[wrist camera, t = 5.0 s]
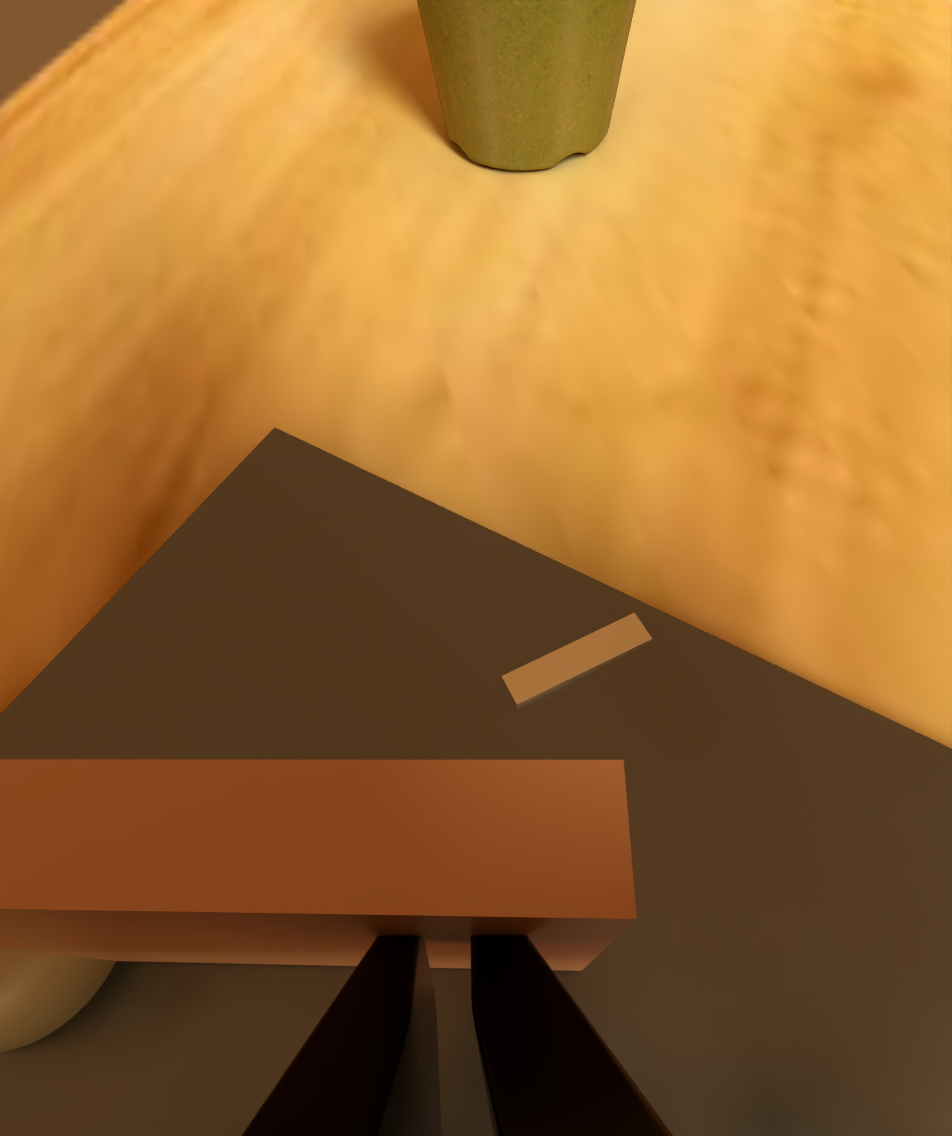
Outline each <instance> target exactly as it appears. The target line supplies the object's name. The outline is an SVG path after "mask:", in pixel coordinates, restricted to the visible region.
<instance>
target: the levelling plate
mask: <svg viewBox="0 0 952 1136" xmlns="http://www.w3.org/2000/svg"><path fill="white" fill-rule="evenodd" d="M0 759H174V760H624V771H625V783H626V795H627V807H628V819H629V832H630V844H631V856H632V868H633V880H634V892H635V905H636V917H637V919H636V920H635V921H634V922H633V923H632V924H631V925H630V926H629V927H628V928H627V929H626V930H624V931H623V932H622V933H621V934H620V935H619V936H618V937H617V938H616V939H615V940H614V941H613V942H612V943H611V944H610V945H609V946H607V947H606V948H605V949H604V950H603V951H602V952H601V953H600V954H599V955H598V956H597V957H596V958H595V959H594V960H593V961H592V962H590V963H589V964H588V965H587V966H586V967H585V968H584V969H583V970H582V971H565V970H553V972H554V973H555V974H556V976H557V977H558V979H559V980H560V981H561V983H562V984H563V985H564V987H565V988H566V989H567V991H568V992H569V994H570V995H571V996H572V998H573V999H574V1000H575V1002H576V1003H577V1005H578V1006H579V1007H580V1009H581V1010H582V1011H583V1013H584V1014H585V1015H586V1017H587V1018H588V1020H589V1021H590V1022H591V1024H592V1025H593V1026H594V1028H595V1029H596V1031H597V1032H598V1033H599V1035H600V1036H601V1037H602V1039H603V1040H604V1041H605V1043H606V1044H607V1046H608V1047H609V1048H610V1050H611V1051H612V1052H613V1054H614V1055H615V1057H616V1058H617V1059H618V1061H619V1062H620V1063H621V1065H622V1066H623V1068H624V1069H625V1070H626V1072H627V1073H628V1074H629V1076H630V1077H631V1078H632V1080H633V1081H634V1083H635V1084H636V1085H637V1087H638V1088H639V1089H640V1091H641V1092H642V1094H643V1095H644V1096H645V1098H646V1099H647V1100H648V1102H649V1103H650V1104H651V1106H652V1107H653V1109H654V1110H655V1111H656V1113H657V1114H658V1115H659V1117H660V1118H661V1120H662V1121H663V1122H664V1124H665V1125H666V1126H667V1128H668V1129H669V1130H670V1132H671V1133H672V1135H673V1136H952V749H951V748H949V747H947V746H944V745H942V744H940V743H938V742H936V741H934V740H932V739H930V738H928V737H926V736H923V735H921V734H919V733H917V732H915V731H913V730H911V729H909V728H907V727H904V726H902V725H900V724H898V723H896V722H894V721H892V720H890V719H888V718H885V717H883V716H881V715H879V714H877V713H875V712H873V711H871V710H869V709H867V708H864V707H862V706H860V705H858V704H856V703H854V702H852V701H850V700H848V699H845V698H843V697H841V696H839V695H837V694H835V693H833V692H831V691H829V690H827V689H824V688H822V687H820V686H818V685H816V684H814V683H812V682H810V681H808V680H805V679H803V678H801V677H799V676H797V675H795V674H793V673H791V672H789V671H786V670H784V669H782V668H780V667H778V666H776V665H774V664H772V663H770V662H768V661H765V660H763V659H761V658H759V657H757V656H755V655H753V654H751V653H749V652H746V651H744V650H742V649H740V648H738V647H736V646H734V645H732V644H730V643H728V642H725V641H723V640H721V639H719V638H717V637H715V636H713V635H711V634H709V633H706V632H704V631H702V630H700V629H698V628H696V627H694V626H692V625H690V624H687V623H685V622H683V621H681V620H679V619H677V618H675V617H673V616H671V615H669V614H666V613H664V612H662V611H660V610H658V609H656V608H654V607H652V606H650V605H647V604H645V603H643V602H641V601H639V600H637V599H635V598H633V597H631V596H629V595H626V594H624V593H622V592H620V591H618V590H616V589H614V588H612V587H610V586H607V585H605V584H603V583H601V582H599V581H597V580H595V579H593V578H591V577H588V576H586V575H584V574H582V573H580V572H578V571H576V570H574V569H572V568H570V567H567V566H565V565H563V564H561V563H559V562H557V561H555V560H553V559H551V558H548V557H546V556H544V555H542V554H540V553H538V552H536V551H534V550H532V549H530V548H527V547H525V546H523V545H521V544H519V543H517V542H515V541H513V540H511V539H508V538H506V537H504V536H502V535H500V534H498V533H496V532H494V531H492V530H489V529H487V528H485V527H483V526H481V525H479V524H477V523H475V522H473V521H471V520H468V519H466V518H464V517H462V516H460V515H458V514H456V513H454V512H452V511H449V510H447V509H445V508H443V507H441V506H439V505H437V504H435V503H433V502H431V501H428V500H426V499H424V498H422V497H420V496H418V495H416V494H414V493H412V492H409V491H407V490H405V489H403V488H401V487H399V486H397V485H395V484H393V483H390V482H388V481H386V480H384V479H382V478H380V477H378V476H376V475H374V474H372V473H369V472H367V471H365V470H363V469H361V468H359V467H357V466H355V465H353V464H350V463H348V462H346V461H344V460H342V459H340V458H338V457H336V456H334V455H332V454H329V453H327V452H325V451H323V450H321V449H319V448H317V447H315V446H313V445H310V444H308V443H306V442H304V441H302V440H300V439H298V438H296V437H294V436H291V435H289V434H287V433H285V432H283V431H281V430H279V429H277V428H274V429H273V430H272V431H271V432H270V433H269V434H268V435H267V436H266V437H265V438H264V439H263V440H262V441H261V442H260V443H259V445H258V446H257V447H256V448H255V449H254V450H253V451H252V452H251V453H250V454H249V455H248V456H247V457H246V458H245V459H244V460H243V461H242V462H241V463H240V464H239V465H238V467H237V468H236V469H235V470H234V471H233V472H232V473H231V474H230V475H229V476H228V477H227V478H226V479H225V480H224V481H223V482H222V483H221V484H220V485H219V486H218V487H217V489H216V490H215V491H214V492H213V493H212V494H211V495H210V496H209V497H208V498H207V499H206V500H205V501H204V502H203V503H202V504H201V505H200V506H199V507H198V508H197V509H196V511H195V512H194V513H193V514H192V515H191V516H190V517H189V518H188V519H187V520H186V521H185V522H184V523H183V524H182V525H181V526H180V527H179V528H178V529H177V530H176V531H175V533H174V534H173V535H172V536H171V537H170V538H169V539H168V540H167V541H166V542H165V543H164V544H163V545H162V546H161V547H160V548H159V549H158V550H157V551H156V552H155V553H154V555H153V556H152V557H151V558H150V559H149V560H148V561H147V562H146V563H145V564H144V565H143V566H142V567H141V568H140V569H139V570H138V571H137V572H136V573H135V574H134V575H133V577H132V578H131V579H130V580H129V581H128V582H127V583H126V584H125V585H124V586H123V587H122V588H121V589H120V590H119V591H118V592H117V593H116V594H115V595H114V596H113V597H112V599H111V600H110V601H109V602H108V603H107V604H106V605H105V606H104V607H103V608H102V609H101V610H100V611H99V612H98V613H97V614H96V615H95V616H94V617H93V618H92V619H91V621H90V622H89V623H88V624H87V625H86V626H85V627H84V628H83V629H82V630H81V631H80V632H79V633H78V634H77V635H76V636H75V637H74V638H73V639H72V640H71V641H70V643H69V644H68V645H67V646H66V647H65V648H64V649H63V650H62V651H61V652H60V653H59V654H58V655H57V656H56V657H55V658H54V659H53V660H52V661H51V662H50V663H49V665H48V666H47V667H46V668H45V669H44V670H43V671H42V672H41V673H40V674H39V675H38V676H37V677H36V678H35V679H34V680H33V681H32V682H31V683H30V684H29V685H28V687H27V688H26V689H25V690H24V691H23V692H22V693H21V694H20V695H19V696H18V697H17V698H16V699H15V700H14V701H13V702H12V703H11V704H10V705H9V706H8V707H7V709H6V710H5V711H4V712H3V713H2V714H1V715H0ZM356 967H357V966H329V965H281V964H234V963H187V962H140V961H116V963H115V964H114V966H113V968H112V970H111V972H110V973H109V975H108V976H107V978H106V979H105V981H104V982H103V984H102V985H101V987H100V988H99V989H98V991H97V992H96V993H95V994H94V995H93V997H92V998H91V999H90V1000H89V1002H88V1003H87V1004H86V1005H85V1006H84V1007H83V1008H82V1009H81V1010H80V1011H79V1012H78V1013H77V1014H76V1015H74V1016H73V1017H72V1018H71V1019H70V1020H68V1021H67V1022H66V1023H65V1024H63V1025H62V1026H61V1027H59V1028H58V1029H56V1030H55V1031H53V1032H52V1033H50V1034H49V1035H47V1036H45V1037H43V1038H41V1039H39V1040H37V1041H35V1042H33V1043H31V1044H29V1045H26V1046H23V1047H20V1048H17V1049H14V1050H9V1051H4V1052H0V1136H241V1135H242V1134H243V1132H244V1131H245V1129H246V1128H247V1126H248V1125H249V1124H250V1122H251V1121H252V1119H253V1118H254V1116H255V1115H256V1113H257V1112H258V1110H259V1109H260V1107H261V1106H262V1104H263V1103H264V1102H265V1100H266V1099H267V1097H268V1096H269V1094H270V1093H271V1091H272V1090H273V1088H274V1087H275V1085H276V1084H277V1082H278V1081H279V1080H280V1078H281V1077H282V1075H283V1074H284V1072H285V1071H286V1069H287V1068H288V1066H289V1065H290V1063H291V1062H292V1060H293V1059H294V1058H295V1056H296V1055H297V1053H298V1052H299V1050H300V1049H301V1047H302V1046H303V1044H304V1043H305V1041H306V1040H307V1038H308V1037H309V1036H310V1034H311V1033H312V1031H313V1030H314V1028H315V1027H316V1025H317V1024H318V1022H319V1021H320V1019H321V1018H322V1016H323V1015H324V1014H325V1012H326V1011H327V1009H328V1008H329V1006H330V1005H331V1003H332V1002H333V1000H334V999H335V997H336V996H337V995H338V993H339V992H340V990H341V989H342V987H343V986H344V984H345V983H346V981H347V980H348V978H349V977H350V975H351V974H352V973H353V971H354V970H355V968H356ZM430 972H431V977H432V982H433V987H434V993H435V1001H436V1012H437V1034H438V1059H439V1083H440V1108H441V1132H442V1136H494V1133H493V1128H492V1122H491V1116H490V1111H489V1105H488V1100H487V1094H486V1088H485V1083H484V1077H483V1071H482V1066H481V1060H480V1054H479V1049H478V1043H477V1037H476V1032H475V1026H474V1020H473V1014H472V1003H471V968H430Z"/></svg>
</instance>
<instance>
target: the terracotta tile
mask: <svg viewBox="0 0 952 1136" xmlns="http://www.w3.org/2000/svg"><path fill="white" fill-rule="evenodd" d="M636 919H637V917H636V905H635V892H634V880H633V868H632V856H631V844H630V832H629V819H628V807H627V795H626V783H625V771H624V760H174V759H0V1052H4V1051H9V1050H14V1049H17V1048H20V1047H23V1046H26V1045H29V1044H31V1043H33V1042H35V1041H37V1040H39V1039H41V1038H43V1037H45V1036H47V1035H49V1034H50V1033H52V1032H53V1031H55V1030H56V1029H58V1028H59V1027H61V1026H62V1025H63V1024H65V1023H66V1022H67V1021H68V1020H70V1019H71V1018H72V1017H73V1016H74V1015H76V1014H77V1013H78V1012H79V1011H80V1010H81V1009H82V1008H83V1007H84V1006H85V1005H86V1004H87V1003H88V1002H89V1000H90V999H91V998H92V997H93V995H94V994H95V993H96V992H97V991H98V989H99V988H100V987H101V985H102V984H103V982H104V981H105V979H106V978H107V976H108V975H109V973H110V972H111V970H112V968H113V966H114V964H115V963H116V961H140V962H187V963H234V964H281V965H329V966H357V965H358V964H359V962H360V961H361V959H362V958H363V956H364V955H365V953H366V952H367V951H368V949H369V948H370V946H371V945H372V943H373V942H374V940H375V939H376V937H377V936H381V935H414V936H420V937H422V938H423V939H424V940H425V945H426V951H427V956H428V961H429V966H430V968H471V950H470V936H473V935H526V936H528V937H529V939H530V940H531V942H532V943H533V944H534V946H535V947H536V948H537V950H538V951H539V953H540V954H541V955H542V957H543V958H544V959H545V961H546V962H547V963H548V965H549V966H550V968H551V969H552V970H565V971H582V970H583V969H584V968H585V967H586V966H587V965H588V964H589V963H590V962H592V961H593V960H594V959H595V958H596V957H597V956H598V955H599V954H600V953H601V952H602V951H603V950H604V949H605V948H606V947H607V946H609V945H610V944H611V943H612V942H613V941H614V940H615V939H616V938H617V937H618V936H619V935H620V934H621V933H622V932H623V931H624V930H626V929H627V928H628V927H629V926H630V925H631V924H632V923H633V922H634V921H635V920H636Z"/></svg>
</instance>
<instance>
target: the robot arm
mask: <svg viewBox="0 0 952 1136" xmlns="http://www.w3.org/2000/svg"><path fill="white" fill-rule="evenodd" d="M470 950H471V1003H472V1014H473V1020H474V1026H475V1032H476V1037H477V1043H478V1049H479V1054H480V1060H481V1066H482V1071H483V1077H484V1083H485V1088H486V1094H487V1100H488V1105H489V1111H490V1116H491V1122H492V1128H493V1133H494V1136H673V1135H672V1133H671V1132H670V1130H669V1129H668V1128H667V1126H666V1125H665V1124H664V1122H663V1121H662V1120H661V1118H660V1117H659V1115H658V1114H657V1113H656V1111H655V1110H654V1109H653V1107H652V1106H651V1104H650V1103H649V1102H648V1100H647V1099H646V1098H645V1096H644V1095H643V1094H642V1092H641V1091H640V1089H639V1088H638V1087H637V1085H636V1084H635V1083H634V1081H633V1080H632V1078H631V1077H630V1076H629V1074H628V1073H627V1072H626V1070H625V1069H624V1068H623V1066H622V1065H621V1063H620V1062H619V1061H618V1059H617V1058H616V1057H615V1055H614V1054H613V1052H612V1051H611V1050H610V1048H609V1047H608V1046H607V1044H606V1043H605V1041H604V1040H603V1039H602V1037H601V1036H600V1035H599V1033H598V1032H597V1031H596V1029H595V1028H594V1026H593V1025H592V1024H591V1022H590V1021H589V1020H588V1018H587V1017H586V1015H585V1014H584V1013H583V1011H582V1010H581V1009H580V1007H579V1006H578V1005H577V1003H576V1002H575V1000H574V999H573V998H572V996H571V995H570V994H569V992H568V991H567V989H566V988H565V987H564V985H563V984H562V983H561V981H560V980H559V979H558V977H557V976H556V974H555V973H554V972H553V970H552V969H551V968H550V966H549V965H548V963H547V962H546V961H545V959H544V958H543V957H542V955H541V954H540V953H539V951H538V950H537V948H536V947H535V946H534V944H533V943H532V942H531V940H530V939H529V937H528V936H526V935H473V936H470ZM241 1136H442V1132H441V1108H440V1083H439V1059H438V1034H437V1012H436V1001H435V993H434V987H433V982H432V977H431V972H430V966H429V961H428V956H427V951H426V945H425V940H424V939H423V938H422V937H420V936H414V935H381V936H377V937H376V939H375V940H374V942H373V943H372V945H371V946H370V948H369V949H368V951H367V952H366V953H365V955H364V956H363V958H362V959H361V961H360V962H359V964H358V965H357V967H356V968H355V970H354V971H353V973H352V974H351V975H350V977H349V978H348V980H347V981H346V983H345V984H344V986H343V987H342V989H341V990H340V992H339V993H338V995H337V996H336V997H335V999H334V1000H333V1002H332V1003H331V1005H330V1006H329V1008H328V1009H327V1011H326V1012H325V1014H324V1015H323V1016H322V1018H321V1019H320V1021H319V1022H318V1024H317V1025H316V1027H315V1028H314V1030H313V1031H312V1033H311V1034H310V1036H309V1037H308V1038H307V1040H306V1041H305V1043H304V1044H303V1046H302V1047H301V1049H300V1050H299V1052H298V1053H297V1055H296V1056H295V1058H294V1059H293V1060H292V1062H291V1063H290V1065H289V1066H288V1068H287V1069H286V1071H285V1072H284V1074H283V1075H282V1077H281V1078H280V1080H279V1081H278V1082H277V1084H276V1085H275V1087H274V1088H273V1090H272V1091H271V1093H270V1094H269V1096H268V1097H267V1099H266V1100H265V1102H264V1103H263V1104H262V1106H261V1107H260V1109H259V1110H258V1112H257V1113H256V1115H255V1116H254V1118H253V1119H252V1121H251V1122H250V1124H249V1125H248V1126H247V1128H246V1129H245V1131H244V1132H243V1134H242V1135H241Z"/></svg>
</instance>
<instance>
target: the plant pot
mask: <svg viewBox="0 0 952 1136" xmlns="http://www.w3.org/2000/svg"><path fill="white" fill-rule="evenodd" d="M417 3H418V7H419V11H420V15H421V20H422V24H423V28H424V33H425V37H426V41H427V45H428V50H429V54H430V58H431V63H432V67H433V71H434V76H435V80H436V84H437V88H438V93H439V97H440V102H441V106H442V111H443V115H444V119H445V123H446V128H447V133H448V136H449V139H450V141H453V142H456V143H457V144H458V145H459V146H460V147H461V149H462V150H463V151H464V152H465V153H466V155H467V156H468V157H469V159H471V160H472V161H475V162H477V163H480V164H482V165H486V166H490V167H493V168H499V169H507V170H538V169H545V168H550V167H553V166H554V165H556V164H557V163H558V162H559V161H560V160H562V159H563V158H565V157H567V156H569V155H571V154H573V153H578V152H582V153H589V152H590V151H592V150H593V149H594V148H595V147H596V146H598V145H599V144H600V142H601V141H602V140H603V138H604V137H605V135H606V134H607V132H608V129H609V125H610V120H611V115H612V110H613V106H614V102H615V98H616V93H617V88H618V83H619V78H620V73H621V68H622V63H623V59H624V54H625V49H626V45H627V40H628V35H629V31H630V26H631V21H632V17H633V13H634V8H635V4H636V0H417Z"/></svg>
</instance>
